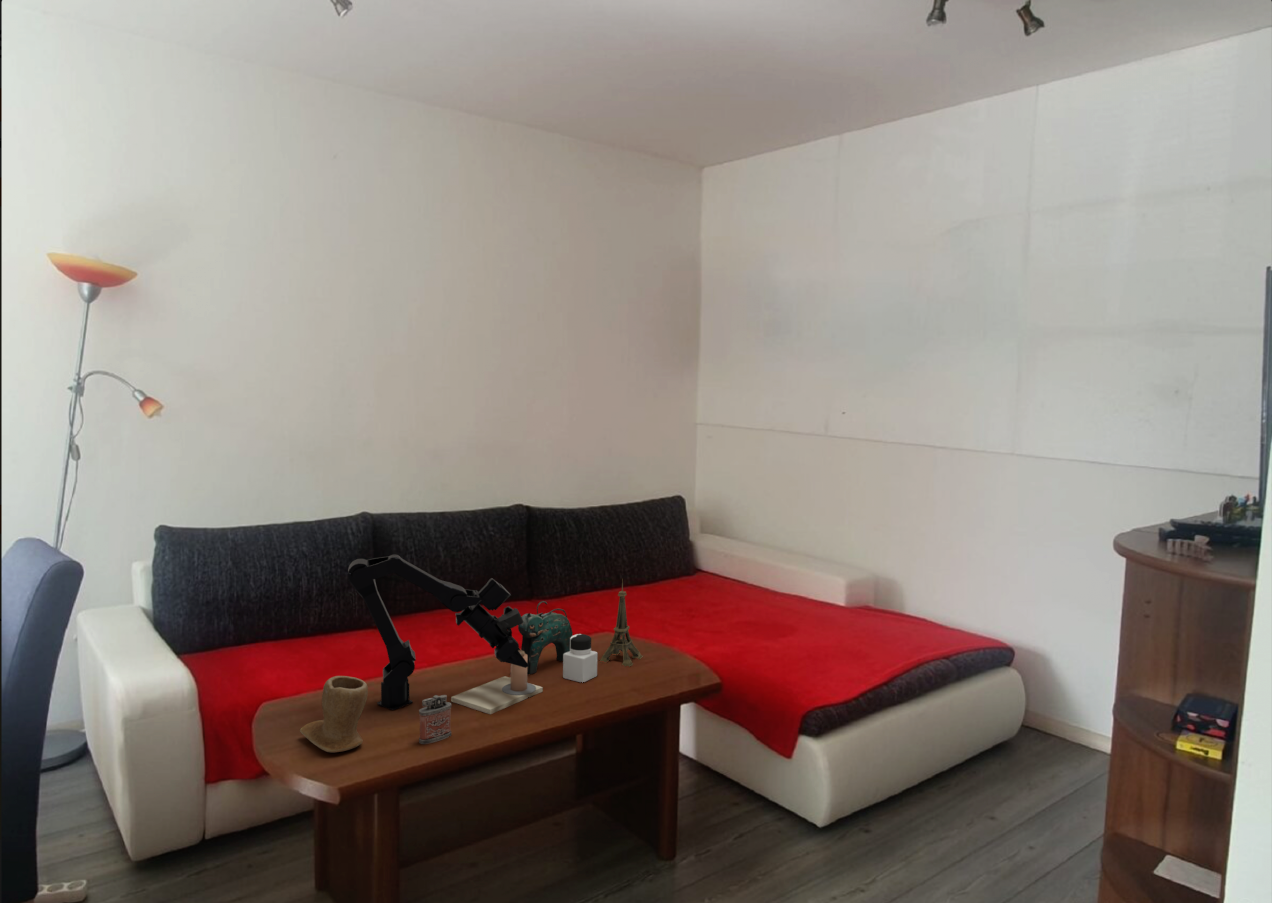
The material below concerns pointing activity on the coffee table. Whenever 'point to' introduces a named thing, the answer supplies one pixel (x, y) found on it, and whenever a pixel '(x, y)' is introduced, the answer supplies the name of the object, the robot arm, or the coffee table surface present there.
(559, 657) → the ceramic cat
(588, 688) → the coffee table surface
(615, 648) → the eiffel tower
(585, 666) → the medicine bottle
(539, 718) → the coffee table surface
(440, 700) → the lighter
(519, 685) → the pink cylindrical bottle
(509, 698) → the serving board
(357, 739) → the stone cup
